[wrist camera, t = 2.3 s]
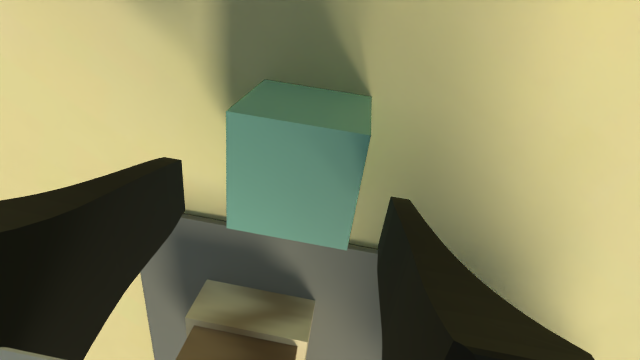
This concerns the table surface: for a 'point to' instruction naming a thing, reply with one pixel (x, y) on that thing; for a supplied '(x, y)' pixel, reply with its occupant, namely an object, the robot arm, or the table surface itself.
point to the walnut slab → (232, 347)
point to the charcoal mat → (265, 285)
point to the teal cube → (296, 162)
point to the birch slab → (253, 314)
